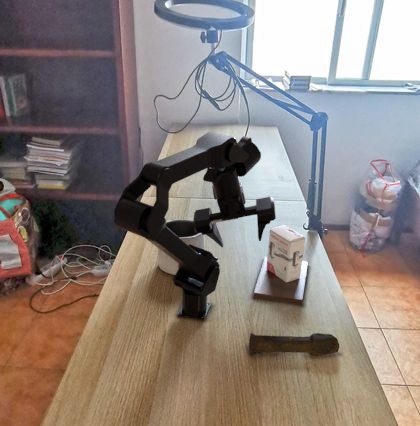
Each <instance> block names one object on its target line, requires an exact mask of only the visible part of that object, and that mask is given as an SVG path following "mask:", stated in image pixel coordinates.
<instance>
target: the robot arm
mask: <svg viewBox="0 0 420 426" xmlns="http://www.w3.org/2000/svg"><path fill="white" fill-rule="evenodd" d="M261 158H262V152H261V150H260V149H259V147H258V146H257V145H256V144H255V143H254V142H253V141H252V137H251V136H250V137H249V136H245V135H243V136H242V137H241V138H240V139H239V141H237V138H236V137H234V136H231V135H226V134H222V133H217V132H213V131H208V132H206V133H205V134H203V135H202V136H200V137H198V139H197V140H196V142H195V144H194V145H193V146H191V147H189V148H186V149H184V150H181V151H179V152H176V153H173V154H171V155H168V156H166V157H163V158H161V159H158V160H156V161H150V162H146V163H145V164H144V165H143V166H142V168H141V170H140V172H139V174H138V176H137V177H136V178H135V179H133V180H132V181H131V182H130V183H129V184H128V185H127V186H125V188H124V189H123V191H122V193H121V195H120V197H119V199H118V201H117V203H116V205H115V206H114V211H113V222H114V225H115V227H117V228H119V229H121V230H124V231H126V232H129V233H131V234H134V235H136V236H139V237H141V238H144V239H145V240H147V241H148V242H150V243H151V244H152V245H153V246H155V247H156V248H157V249H158V248H159V249H160V250H162V251H163V252H164V253H166V254H167V255H168V256H170V257H171V258H172V259H174V260H175V261H176V262H178V268H179V269H178V271H177V273H176V274H175V275H173V279H172V282H173V285H174V287H176V288H180V289H182V291H181V292H182V293H181V294H182V297H181V298H182V301H181V302H182V304H181V306H180V308H179V310H178V312H177V316H179V317H186V318H191V319H197V320H206V318H207V315H208V313H209V311H210V308H211V305H212V304H211V303H210V302H208V296H209V295H211V294H212V293H214V292H215V291H216V289H217V285H218V281H219V278H220V274H221V269H220V263H219V261H218V260H219V258H218V257H217V256H214V255H213V253H212V252H211V251H209V250H207V249H205V250H204V249H201V248H199V247H196V246H194V245H191V244H189V246H188V245H187V244H186V243H185V242H184V241H183V240H181V239H180V238H179V237H178V236H177V235H176V234H174V233H173V232H172V231H171V230H170V229H169V228H167V227H166V221H167V219H166V218H165V217H166V215H167V214H168V212H169V209H170V190H171V188H172V187H173V185H174V184H176V183H177V182H180V181H182V180H184V179H186V178H188V177H190V176H193V175H195V174H197V173H200V172H202V171H204V170H206V172H205V173H204V175H203V177H202V180H203V181H204V182H208V183H211V184H212V186H211V187H212V194H213V195H212V196H213V198H214V200H216V203H217V206H218V209H219V212H213V211H212V209H211V207H206V208H201V209H195V211H194V212H193V219H192V220H193V227H194V230H195V232H196V233H202V235H205V236H207V237H209V238H210V239H211V240H213V241H214V242H215V243H216V244H217V245H218V246H220V247H221V248H224V241H223V238H222V235H221V233H220V229H219V228H218V225H217V223H221V222H227V221H233V220H237V219H241V218H245V217H251V216H256V217H257V218H256V219H257V220H256V221H257V238H258V242H261V241H262V238H263V235H264V234H263V233H264V230H265V228H266V226H267V225H270V224H271V222H272V221H275V220H276V217H277V216H276V204H275V199H274V198H273V197H272V196H265V197H261V198H256V199H255V204H253V205H249V206H245V205H246V196H245V193H244V189H243V183H242V182H240V180H239V178H240V177H241V178H242V177H244V176H246V175H247V174H248V173H249V172H250V171H251V170H252V169H253V168H254V167H255V165H257V164H258V163H259V162H260V161H261ZM151 186H152V187H155V201H154V203H153V205H152V204H148V203H146V202H143V201H140V200H138V199H139V197H141V196H142V195H143V194H145V192H147V191H148V190H149V189H150V188H151Z"/></svg>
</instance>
